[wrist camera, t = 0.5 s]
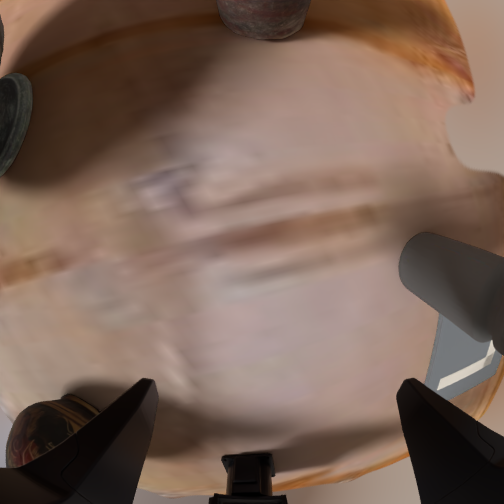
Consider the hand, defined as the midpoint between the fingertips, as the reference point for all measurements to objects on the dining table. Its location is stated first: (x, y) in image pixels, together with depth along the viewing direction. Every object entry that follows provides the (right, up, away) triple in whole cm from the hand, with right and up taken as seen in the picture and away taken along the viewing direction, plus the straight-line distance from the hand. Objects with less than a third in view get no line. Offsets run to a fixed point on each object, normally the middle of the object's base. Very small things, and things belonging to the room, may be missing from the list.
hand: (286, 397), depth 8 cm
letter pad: (+27, -7, +16) cm, 33 cm away
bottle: (+15, +4, +14) cm, 21 cm away
